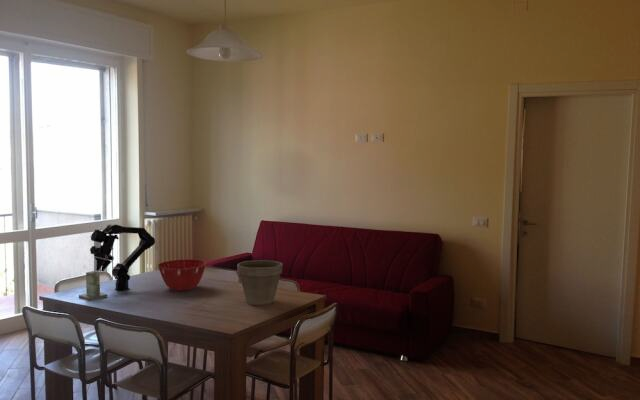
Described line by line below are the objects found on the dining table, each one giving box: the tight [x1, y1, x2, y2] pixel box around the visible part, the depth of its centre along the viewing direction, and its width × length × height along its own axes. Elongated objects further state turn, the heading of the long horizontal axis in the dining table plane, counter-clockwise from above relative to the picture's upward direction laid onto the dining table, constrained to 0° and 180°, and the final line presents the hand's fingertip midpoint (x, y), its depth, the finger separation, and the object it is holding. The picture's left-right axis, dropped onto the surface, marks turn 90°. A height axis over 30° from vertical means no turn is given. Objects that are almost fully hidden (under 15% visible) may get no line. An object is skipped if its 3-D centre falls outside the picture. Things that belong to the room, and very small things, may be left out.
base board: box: [78, 291, 108, 302], centre depth 313 cm, size 11×11×2 cm
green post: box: [85, 270, 101, 296], centre depth 312 cm, size 5×5×13 cm
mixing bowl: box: [157, 258, 207, 292], centre depth 335 cm, size 28×28×16 cm
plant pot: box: [236, 259, 284, 306], centre depth 304 cm, size 25×25×22 cm
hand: (99, 270), depth 320 cm, fingers open, 9 cm apart
